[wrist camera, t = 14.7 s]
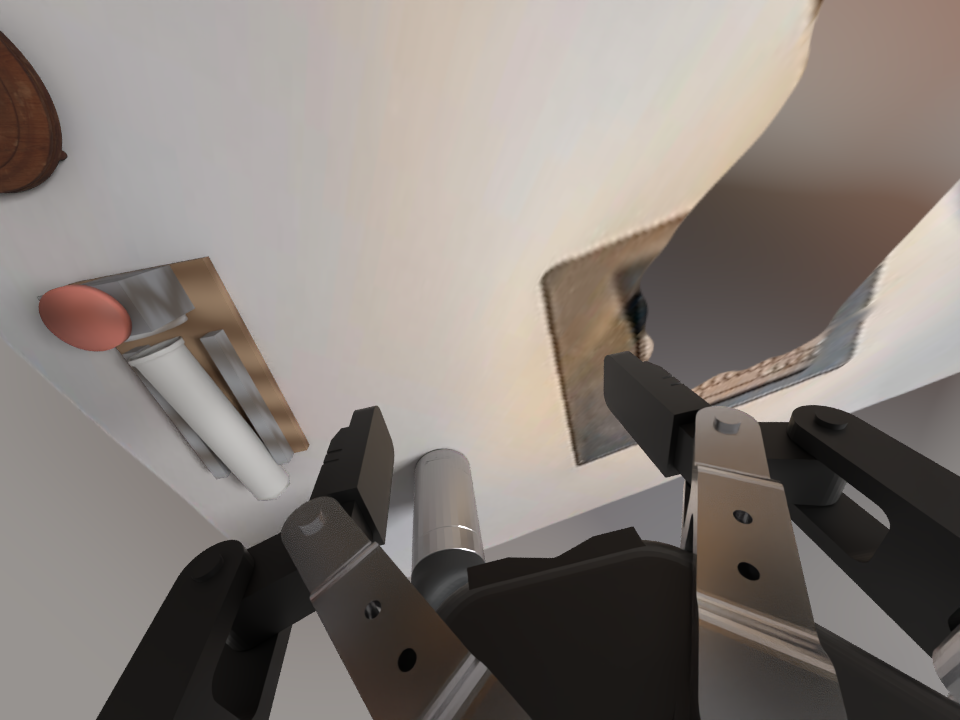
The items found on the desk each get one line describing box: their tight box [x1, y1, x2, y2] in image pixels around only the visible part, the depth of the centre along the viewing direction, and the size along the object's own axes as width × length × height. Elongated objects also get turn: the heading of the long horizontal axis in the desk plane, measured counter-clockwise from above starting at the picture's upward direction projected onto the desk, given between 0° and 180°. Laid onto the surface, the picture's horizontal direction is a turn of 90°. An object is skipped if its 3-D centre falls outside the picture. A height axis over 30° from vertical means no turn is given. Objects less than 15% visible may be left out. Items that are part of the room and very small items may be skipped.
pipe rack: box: [37, 256, 309, 479], centre depth 40 cm, size 28×14×10 cm, turn 10°
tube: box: [128, 336, 290, 501], centre depth 44 cm, size 5×5×25 cm
